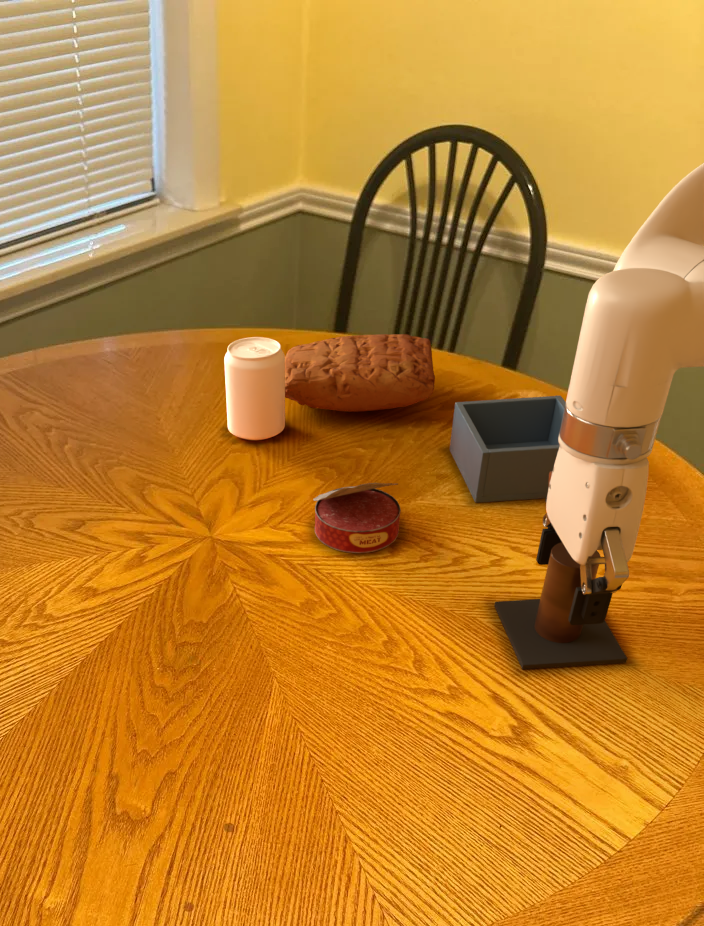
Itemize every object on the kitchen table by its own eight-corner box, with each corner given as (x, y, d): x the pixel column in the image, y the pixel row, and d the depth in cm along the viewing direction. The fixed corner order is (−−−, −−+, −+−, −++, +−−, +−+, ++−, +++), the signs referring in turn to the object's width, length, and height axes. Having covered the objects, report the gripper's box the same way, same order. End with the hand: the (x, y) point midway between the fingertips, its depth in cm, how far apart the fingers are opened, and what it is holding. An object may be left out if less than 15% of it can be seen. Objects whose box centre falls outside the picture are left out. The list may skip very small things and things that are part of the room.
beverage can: (257, 411, 130) (254, 330, 123) (297, 428, 126) (297, 345, 118) (216, 431, 126) (211, 348, 119) (255, 449, 122) (253, 364, 114)
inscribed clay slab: (432, 379, 136) (437, 327, 131) (430, 431, 123) (436, 376, 118) (288, 375, 140) (287, 324, 134) (272, 425, 127) (271, 371, 122)
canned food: (320, 576, 106) (280, 510, 102) (349, 525, 112) (312, 460, 108) (404, 560, 99) (365, 488, 94) (430, 507, 105) (394, 436, 100)
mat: (589, 599, 93) (590, 595, 93) (626, 663, 85) (627, 658, 85) (493, 606, 93) (494, 601, 93) (522, 669, 85) (523, 665, 85)
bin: (550, 443, 119) (560, 395, 114) (586, 495, 108) (598, 445, 104) (449, 449, 119) (455, 402, 114) (475, 502, 108) (482, 452, 104)
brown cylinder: (572, 613, 90) (591, 539, 85) (587, 641, 87) (608, 566, 81) (528, 616, 90) (544, 542, 85) (542, 644, 87) (560, 569, 81)
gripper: (699, 476, 68) (643, 647, 79) (614, 381, 81) (576, 538, 92) (601, 483, 68) (558, 652, 79) (532, 387, 81) (504, 543, 92)
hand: (568, 591), depth 86 cm, fingers open, 9 cm apart
